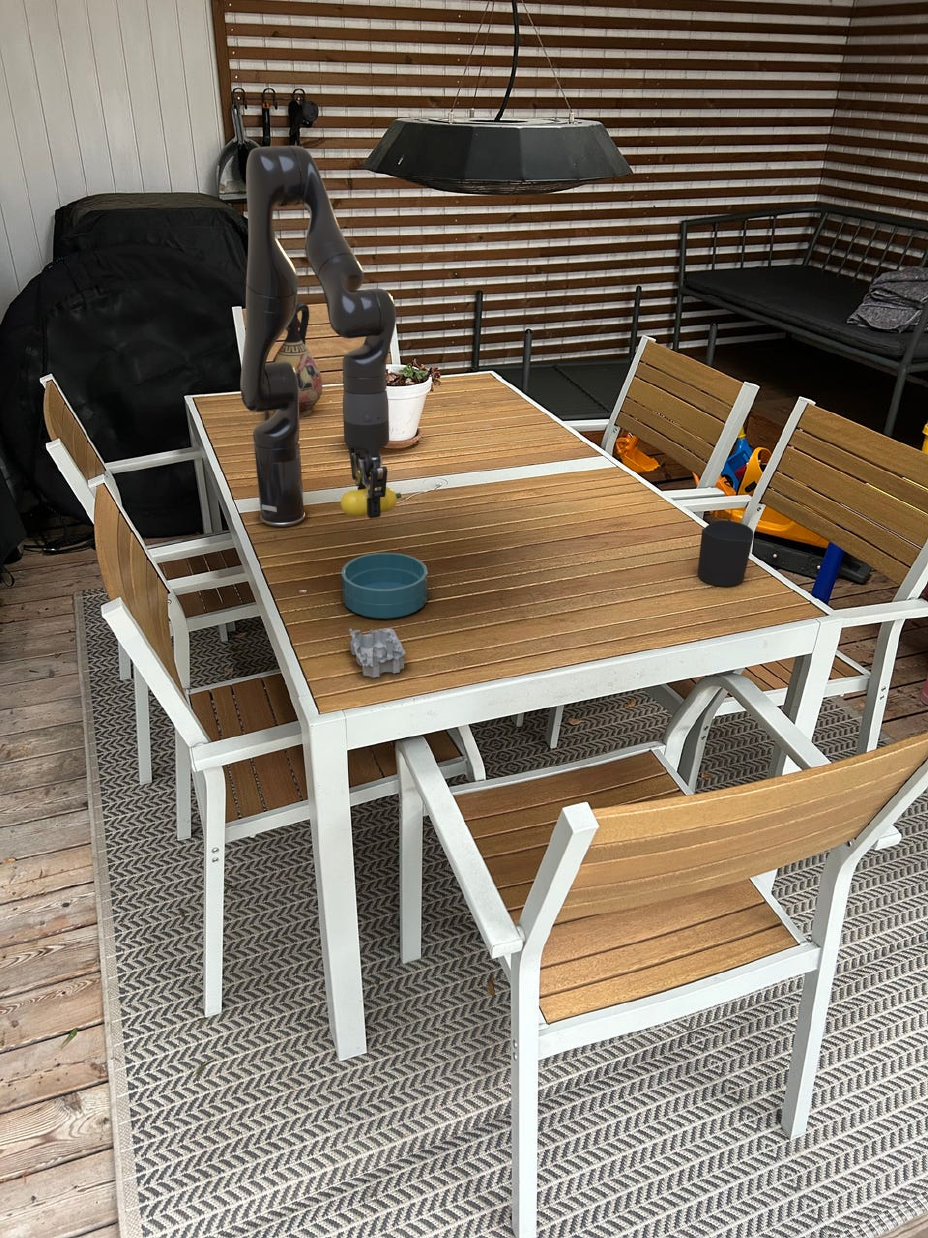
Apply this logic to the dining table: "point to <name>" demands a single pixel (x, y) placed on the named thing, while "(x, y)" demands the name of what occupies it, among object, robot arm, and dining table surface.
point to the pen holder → (724, 553)
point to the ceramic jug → (301, 361)
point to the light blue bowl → (384, 585)
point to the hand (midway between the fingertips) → (369, 511)
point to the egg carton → (377, 651)
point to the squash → (357, 502)
